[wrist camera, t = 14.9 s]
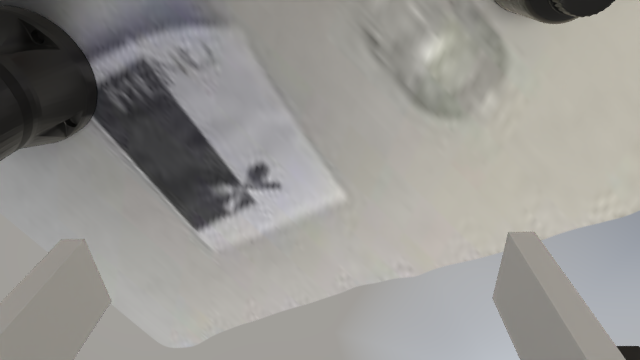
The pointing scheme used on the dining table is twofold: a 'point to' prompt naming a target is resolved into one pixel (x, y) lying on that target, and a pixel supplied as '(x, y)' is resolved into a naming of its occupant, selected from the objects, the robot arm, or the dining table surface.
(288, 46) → the dining table surface
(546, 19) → the supplement bottle
